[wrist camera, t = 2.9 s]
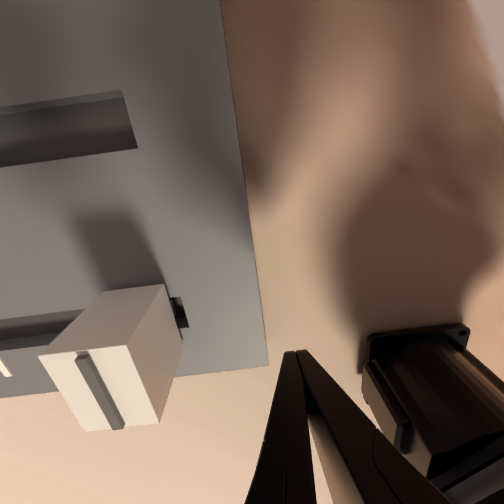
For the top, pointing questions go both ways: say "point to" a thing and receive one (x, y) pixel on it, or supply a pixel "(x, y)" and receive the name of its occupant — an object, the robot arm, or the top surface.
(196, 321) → the console
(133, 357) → the fader
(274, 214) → the top surface
